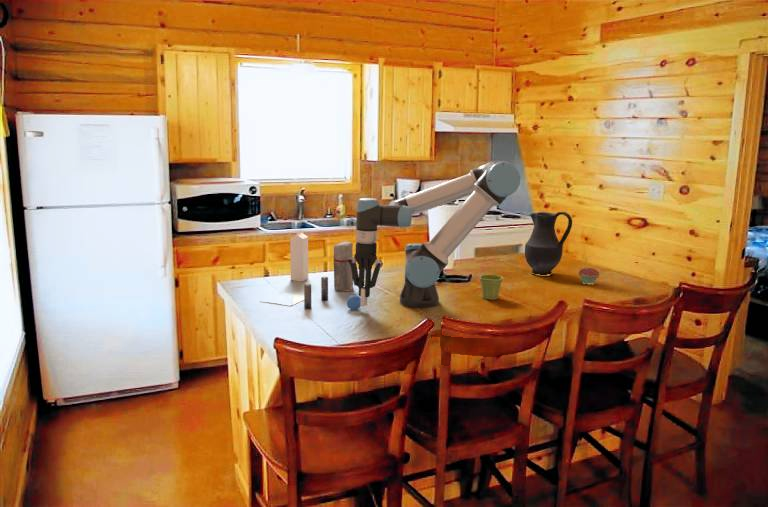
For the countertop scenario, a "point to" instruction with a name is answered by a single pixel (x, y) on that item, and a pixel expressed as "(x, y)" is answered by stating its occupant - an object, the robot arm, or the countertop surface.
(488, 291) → the plant pot
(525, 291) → the countertop surface
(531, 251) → the pitcher
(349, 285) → the spray can
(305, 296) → the left post
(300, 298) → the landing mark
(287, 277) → the countertop surface
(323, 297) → the right post
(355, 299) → the ball
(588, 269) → the cupcake
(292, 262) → the milk
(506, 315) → the countertop surface
